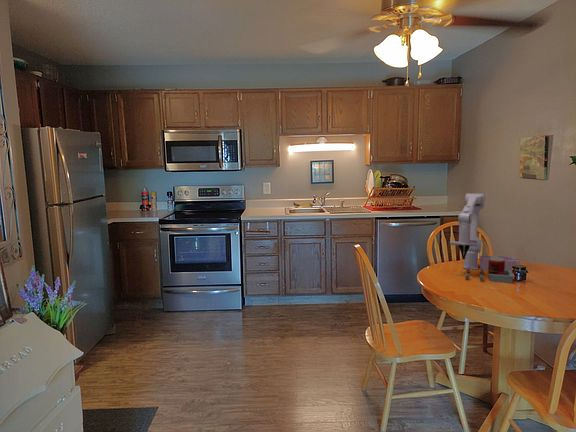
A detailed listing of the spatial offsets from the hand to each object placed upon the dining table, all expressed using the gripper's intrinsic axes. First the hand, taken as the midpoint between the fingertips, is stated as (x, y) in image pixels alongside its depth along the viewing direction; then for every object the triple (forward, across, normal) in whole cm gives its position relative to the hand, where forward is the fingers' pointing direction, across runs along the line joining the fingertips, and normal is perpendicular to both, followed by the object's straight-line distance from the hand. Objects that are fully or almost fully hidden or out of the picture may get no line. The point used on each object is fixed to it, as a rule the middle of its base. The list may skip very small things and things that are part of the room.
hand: (463, 258), depth 221 cm
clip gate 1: (+9, +2, 0) cm, 10 cm away
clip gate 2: (+9, +9, 0) cm, 13 cm away
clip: (+10, +18, +21) cm, 29 cm away
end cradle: (+9, +17, 0) cm, 20 cm away
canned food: (+10, +16, -1) cm, 19 cm away
